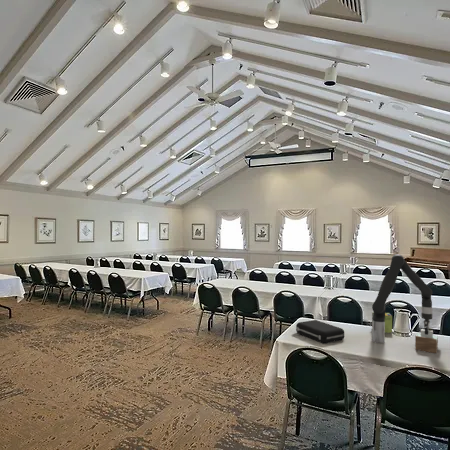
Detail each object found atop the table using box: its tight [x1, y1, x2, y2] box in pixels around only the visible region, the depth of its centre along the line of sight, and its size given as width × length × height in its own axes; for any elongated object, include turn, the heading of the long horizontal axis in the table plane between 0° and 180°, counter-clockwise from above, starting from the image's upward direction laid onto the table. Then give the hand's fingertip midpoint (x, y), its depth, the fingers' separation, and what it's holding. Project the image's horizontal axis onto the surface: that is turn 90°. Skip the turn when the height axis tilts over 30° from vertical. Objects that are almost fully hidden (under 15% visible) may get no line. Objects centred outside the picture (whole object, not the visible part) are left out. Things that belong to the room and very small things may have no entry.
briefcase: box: [295, 319, 345, 344], centre depth 306 cm, size 36×32×10 cm
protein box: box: [371, 312, 393, 334], centre depth 324 cm, size 10×15×16 cm
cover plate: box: [416, 328, 439, 342], centre depth 277 cm, size 14×14×6 cm
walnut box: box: [414, 335, 439, 354], centre depth 276 cm, size 16×14×10 cm
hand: (426, 333), depth 277 cm, fingers open, 8 cm apart
